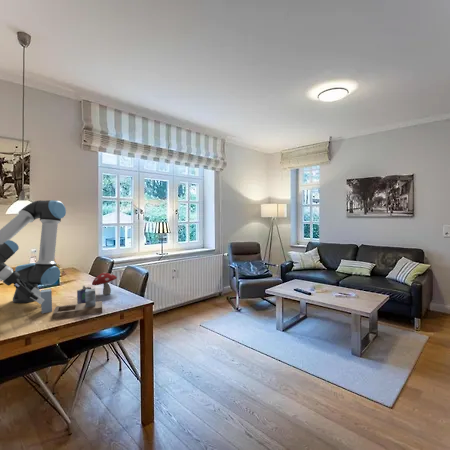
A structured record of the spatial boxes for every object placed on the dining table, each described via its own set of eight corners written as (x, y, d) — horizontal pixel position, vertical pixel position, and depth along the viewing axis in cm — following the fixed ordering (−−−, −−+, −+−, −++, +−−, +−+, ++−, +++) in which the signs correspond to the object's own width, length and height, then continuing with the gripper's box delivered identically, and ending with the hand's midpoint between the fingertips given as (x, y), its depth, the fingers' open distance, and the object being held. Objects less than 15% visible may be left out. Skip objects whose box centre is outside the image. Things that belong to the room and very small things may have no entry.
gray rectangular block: (41, 313, 158) (41, 292, 157) (41, 310, 162) (40, 290, 161) (52, 311, 161) (51, 290, 160) (51, 309, 165) (51, 288, 164)
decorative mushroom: (97, 299, 183) (97, 276, 182) (88, 294, 194) (87, 272, 193) (121, 294, 194) (120, 272, 193) (111, 289, 205) (110, 269, 204)
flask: (79, 305, 172) (78, 287, 171) (75, 304, 173) (75, 287, 173) (92, 301, 180) (92, 284, 179) (89, 300, 181) (89, 283, 181)
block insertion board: (53, 319, 150) (52, 296, 149) (56, 311, 161) (55, 290, 160) (102, 312, 159) (101, 291, 159) (102, 305, 170) (101, 286, 170)
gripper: (4, 276, 159) (36, 298, 168) (-1, 286, 138) (36, 310, 147) (15, 266, 162) (47, 288, 171) (12, 274, 141) (48, 299, 150)
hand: (42, 299), depth 159 cm, fingers open, 13 cm apart
